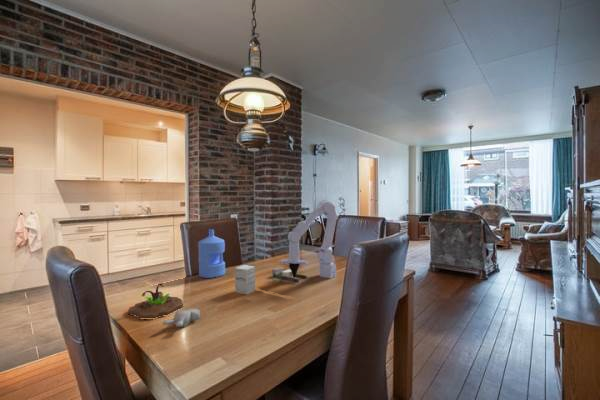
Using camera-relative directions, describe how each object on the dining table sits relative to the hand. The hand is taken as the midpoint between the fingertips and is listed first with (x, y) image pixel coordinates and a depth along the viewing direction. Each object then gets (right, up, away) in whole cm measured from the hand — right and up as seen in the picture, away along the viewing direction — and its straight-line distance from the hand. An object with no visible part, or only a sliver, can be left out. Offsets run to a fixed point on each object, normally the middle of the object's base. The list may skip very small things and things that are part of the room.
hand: (294, 276), depth 160 cm
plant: (-59, -5, -36) cm, 69 cm away
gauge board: (-4, -2, +1) cm, 4 cm away
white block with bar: (-5, -1, +1) cm, 5 cm away
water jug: (-51, -3, +15) cm, 53 cm away
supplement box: (-25, -3, -16) cm, 29 cm away
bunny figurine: (-42, -5, -51) cm, 66 cm away
